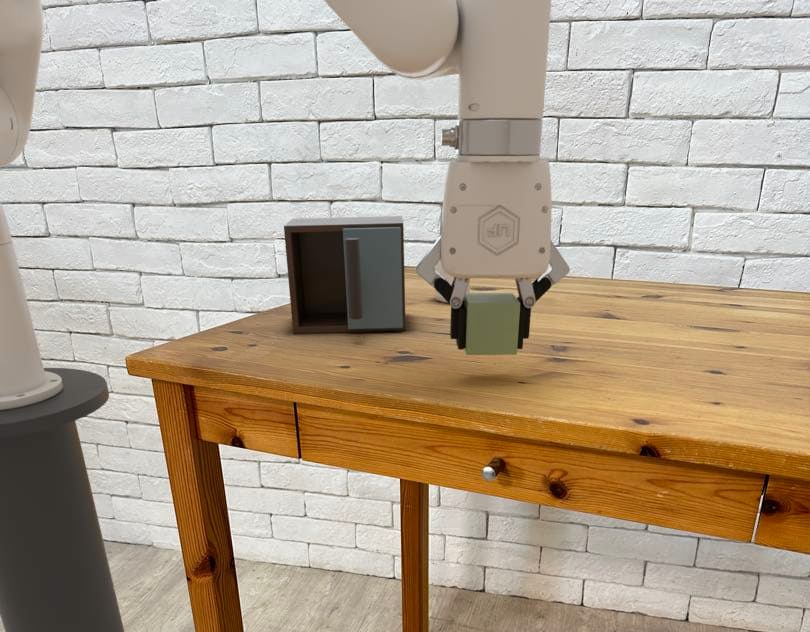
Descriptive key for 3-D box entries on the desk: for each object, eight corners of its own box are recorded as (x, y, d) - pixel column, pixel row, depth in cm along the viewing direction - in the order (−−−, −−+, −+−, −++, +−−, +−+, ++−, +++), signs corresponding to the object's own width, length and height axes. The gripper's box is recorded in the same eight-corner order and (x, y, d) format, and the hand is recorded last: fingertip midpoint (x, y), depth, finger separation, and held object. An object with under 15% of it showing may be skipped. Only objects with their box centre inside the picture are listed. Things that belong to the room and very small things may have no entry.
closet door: (403, 338, 93) (401, 232, 88) (346, 339, 93) (340, 234, 88) (402, 326, 99) (400, 226, 93) (348, 328, 99) (343, 228, 93)
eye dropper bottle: (443, 305, 113) (444, 218, 108) (433, 298, 118) (433, 214, 113) (471, 303, 114) (473, 216, 109) (460, 296, 119) (461, 213, 113)
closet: (405, 330, 100) (403, 223, 93) (293, 333, 99) (283, 225, 93) (404, 316, 108) (402, 215, 101) (300, 318, 107) (291, 218, 101)
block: (517, 354, 75) (520, 302, 73) (466, 355, 75) (468, 303, 73) (509, 342, 80) (512, 292, 77) (461, 342, 80) (463, 293, 77)
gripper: (404, 144, 65) (405, 356, 74) (603, 143, 66) (581, 355, 74) (403, 143, 72) (403, 338, 81) (583, 142, 72) (565, 336, 81)
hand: (488, 344), depth 77 cm, fingers closed on block, 5 cm apart
